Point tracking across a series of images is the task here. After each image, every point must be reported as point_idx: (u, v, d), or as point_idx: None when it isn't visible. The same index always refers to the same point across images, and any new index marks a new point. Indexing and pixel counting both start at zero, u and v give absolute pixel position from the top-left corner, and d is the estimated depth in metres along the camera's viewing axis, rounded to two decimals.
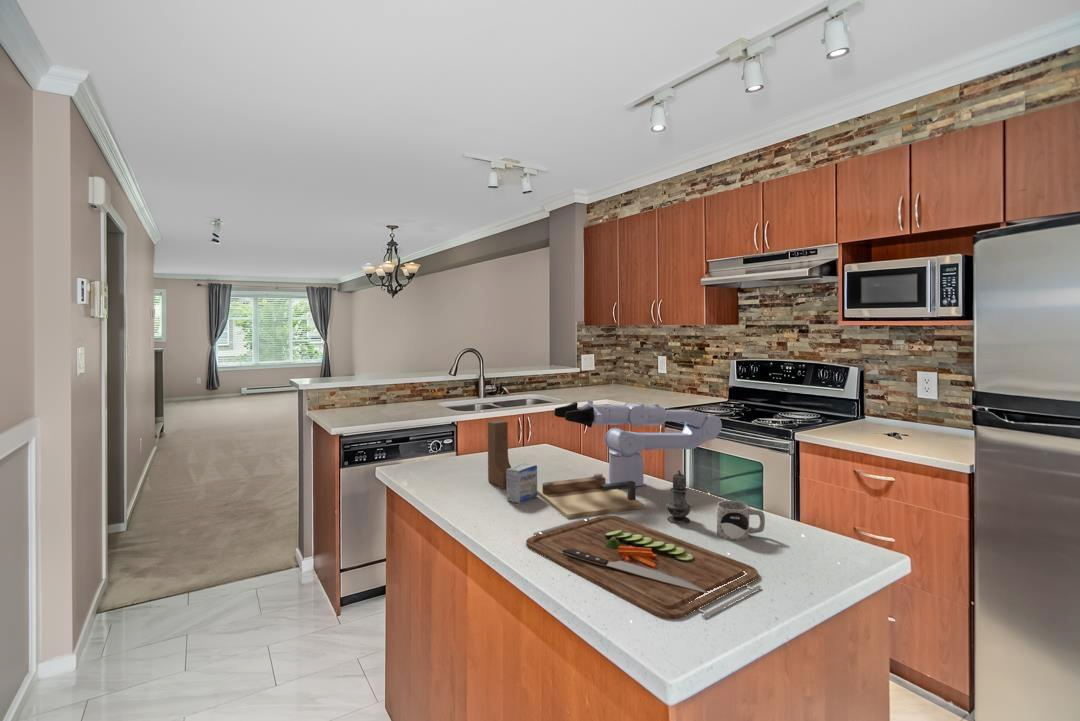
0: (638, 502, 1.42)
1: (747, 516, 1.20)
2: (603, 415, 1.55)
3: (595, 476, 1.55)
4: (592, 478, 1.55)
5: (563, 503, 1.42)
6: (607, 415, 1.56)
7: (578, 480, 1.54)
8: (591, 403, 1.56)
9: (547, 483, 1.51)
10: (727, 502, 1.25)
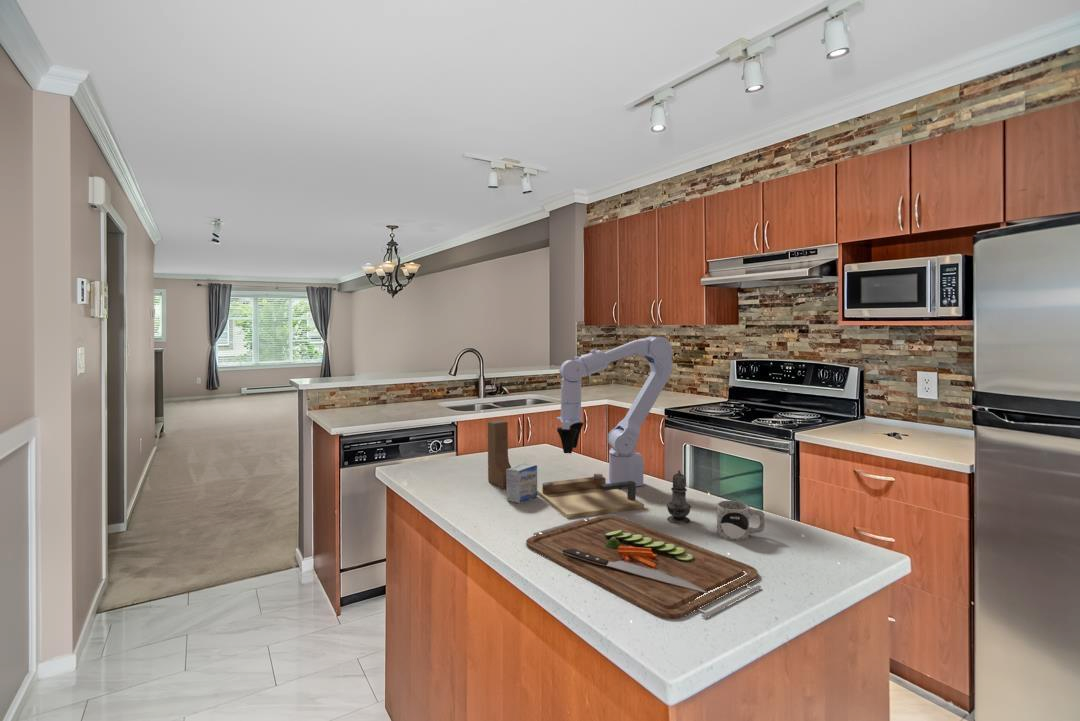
0: (638, 502, 1.42)
1: (747, 516, 1.20)
2: (568, 410, 1.56)
3: (595, 476, 1.55)
4: (592, 478, 1.55)
5: (563, 503, 1.42)
6: (568, 405, 1.56)
7: (578, 480, 1.54)
8: (558, 419, 1.58)
9: (547, 483, 1.51)
10: (727, 502, 1.25)
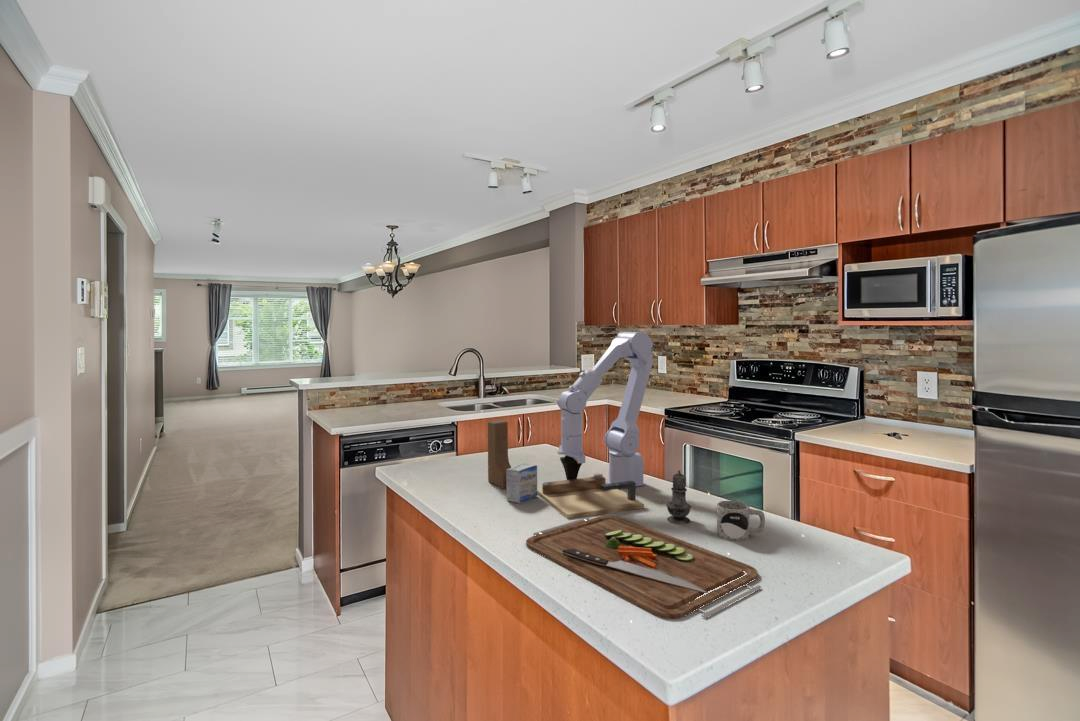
0: (638, 502, 1.42)
1: (747, 516, 1.20)
2: (575, 443, 1.52)
3: (595, 476, 1.55)
4: (592, 478, 1.55)
5: (563, 503, 1.42)
6: (575, 438, 1.52)
7: (578, 480, 1.54)
8: (562, 453, 1.53)
9: (547, 483, 1.51)
10: (727, 502, 1.25)
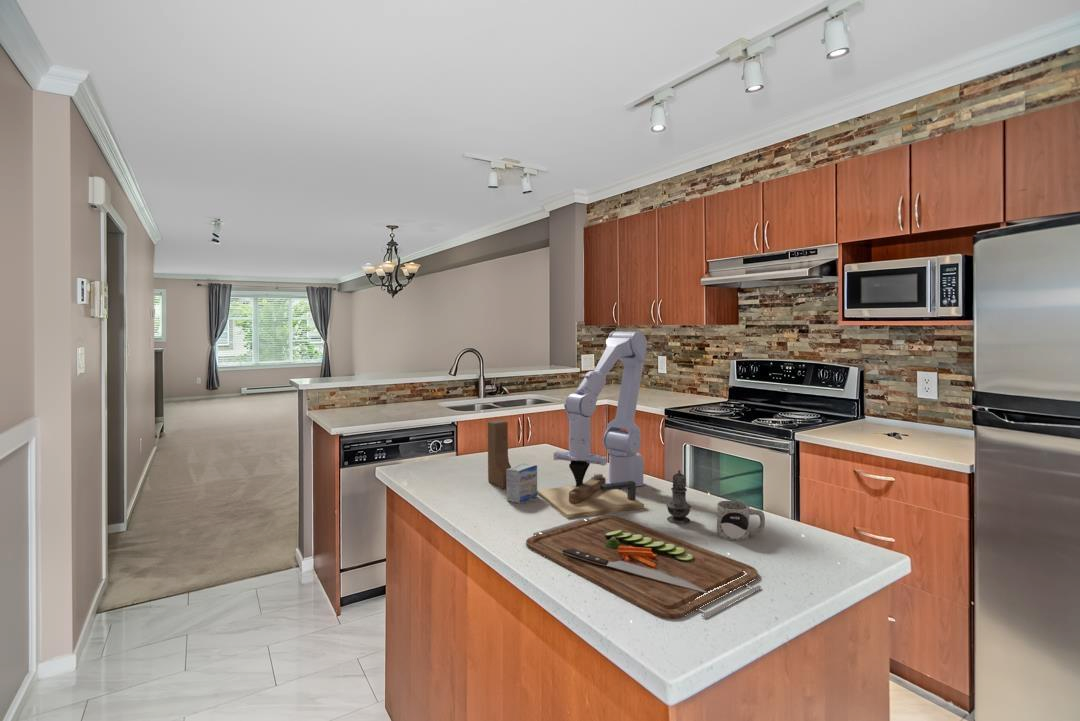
0: (638, 502, 1.42)
1: (747, 516, 1.20)
2: (589, 446, 1.48)
3: (598, 476, 1.54)
4: (595, 479, 1.54)
5: (563, 503, 1.42)
6: (589, 441, 1.47)
7: (588, 483, 1.50)
8: (578, 459, 1.46)
9: (573, 492, 1.43)
10: (727, 502, 1.25)
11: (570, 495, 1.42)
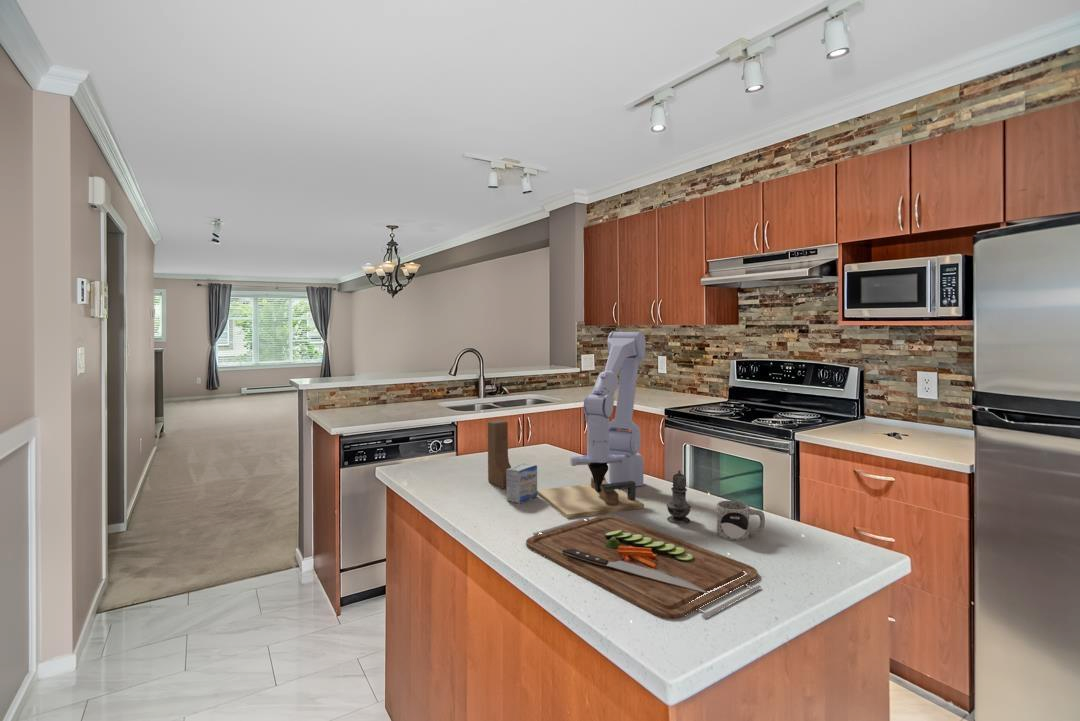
0: (638, 502, 1.42)
1: (747, 516, 1.20)
2: None
3: None
4: None
5: (563, 503, 1.42)
6: None
7: None
8: (605, 460, 1.44)
9: (611, 494, 1.41)
10: (727, 502, 1.25)
11: (611, 498, 1.39)
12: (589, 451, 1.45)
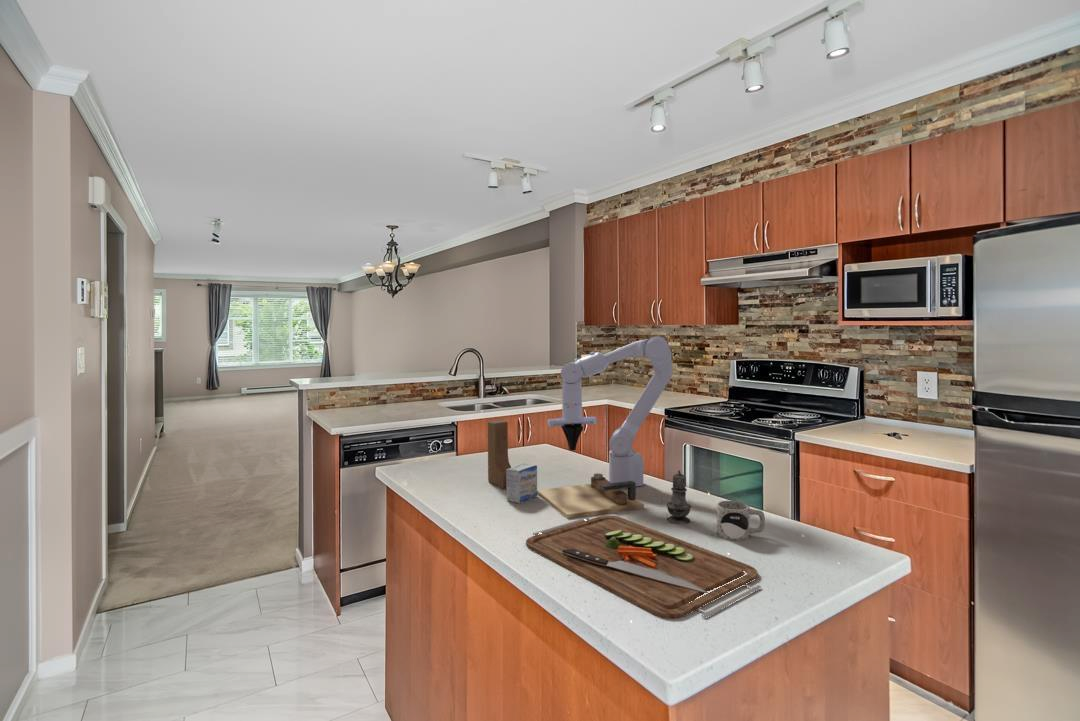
0: (638, 502, 1.42)
1: (747, 516, 1.20)
2: None
3: (601, 476, 1.55)
4: (599, 479, 1.54)
5: (563, 503, 1.42)
6: None
7: None
8: None
9: (619, 493, 1.41)
10: (727, 502, 1.25)
11: (621, 497, 1.40)
12: (564, 413, 1.62)
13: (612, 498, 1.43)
